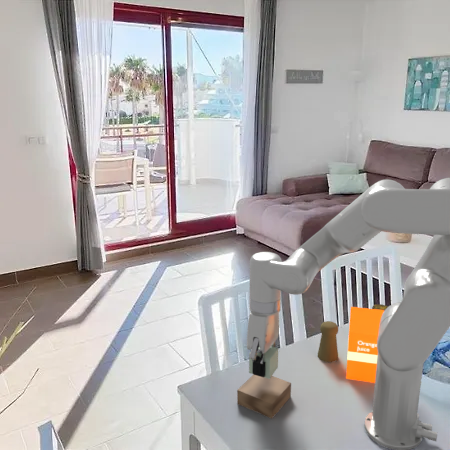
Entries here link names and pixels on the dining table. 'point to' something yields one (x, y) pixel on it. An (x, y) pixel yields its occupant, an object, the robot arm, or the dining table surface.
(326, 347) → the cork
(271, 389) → the walnut block
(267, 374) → the sage cube
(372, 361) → the orange juice
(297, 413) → the dining table surface
